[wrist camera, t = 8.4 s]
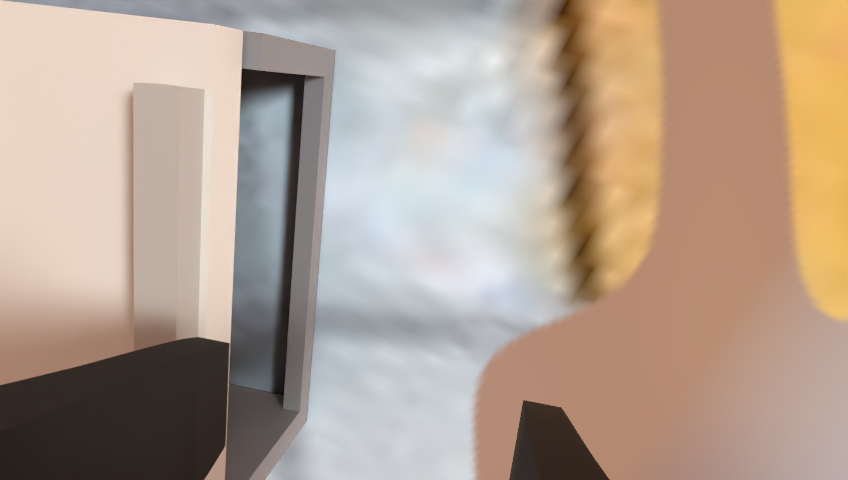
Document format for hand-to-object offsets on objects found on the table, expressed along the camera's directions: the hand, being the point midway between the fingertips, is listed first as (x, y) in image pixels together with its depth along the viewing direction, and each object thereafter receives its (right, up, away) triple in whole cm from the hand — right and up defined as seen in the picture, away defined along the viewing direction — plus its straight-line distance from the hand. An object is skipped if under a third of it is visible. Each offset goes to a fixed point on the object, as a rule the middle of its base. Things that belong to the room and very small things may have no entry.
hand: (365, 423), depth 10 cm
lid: (-10, +3, +6) cm, 12 cm away
